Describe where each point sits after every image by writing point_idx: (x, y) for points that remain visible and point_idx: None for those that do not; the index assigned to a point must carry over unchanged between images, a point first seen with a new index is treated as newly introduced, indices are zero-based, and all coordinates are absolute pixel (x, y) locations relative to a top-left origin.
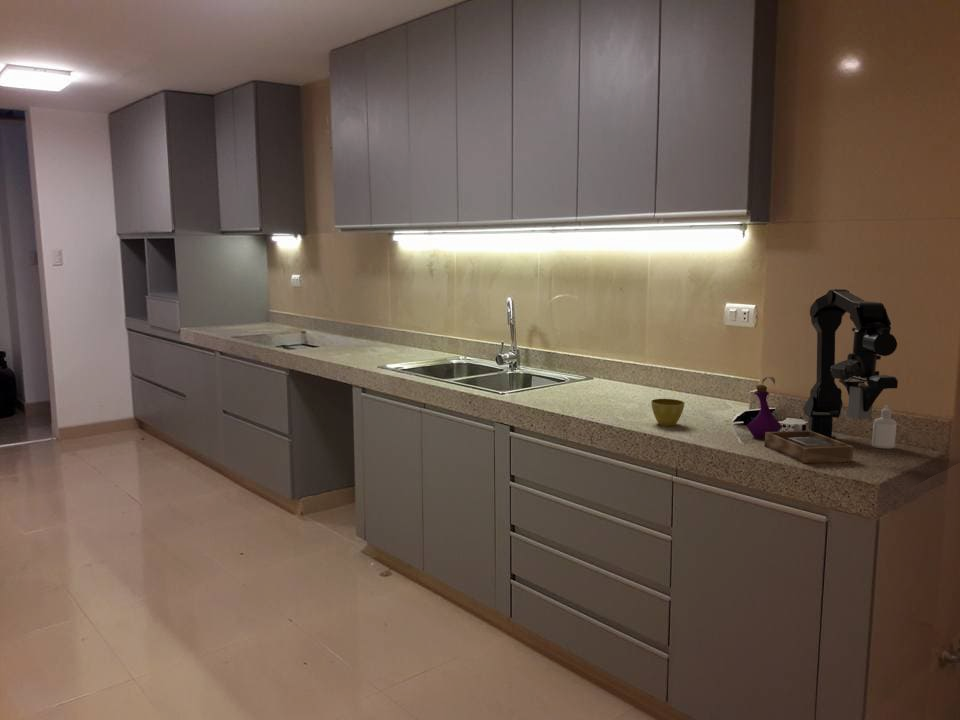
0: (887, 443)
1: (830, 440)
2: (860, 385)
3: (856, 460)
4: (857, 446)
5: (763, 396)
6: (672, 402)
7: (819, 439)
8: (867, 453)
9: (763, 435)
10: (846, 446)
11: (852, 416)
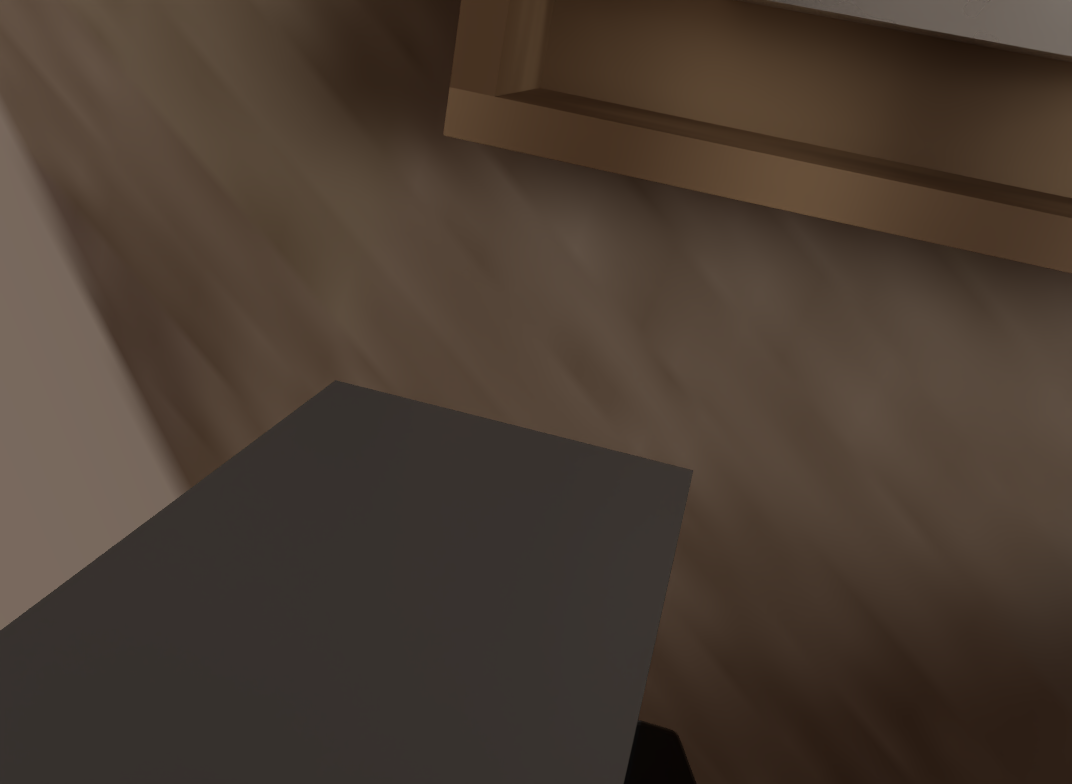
0: None
1: (935, 186)
2: None
3: (532, 220)
4: (981, 769)
5: None
6: None
7: (1064, 15)
8: (708, 596)
9: None
10: (477, 28)
11: (512, 437)
